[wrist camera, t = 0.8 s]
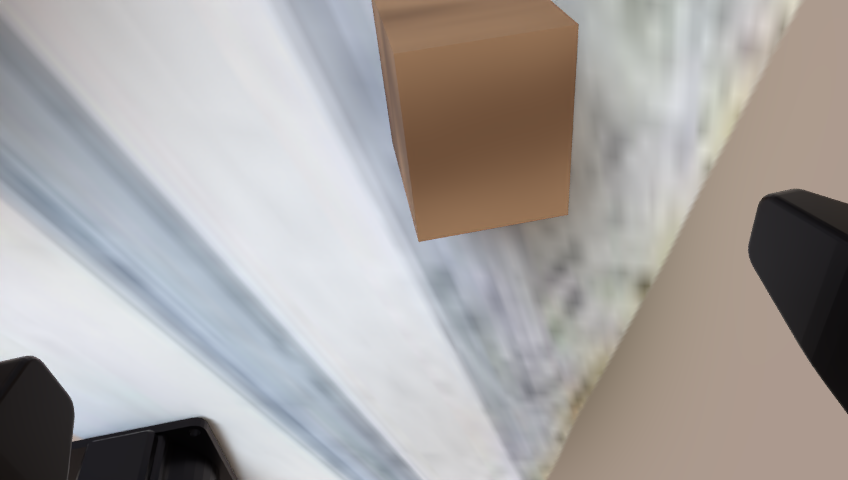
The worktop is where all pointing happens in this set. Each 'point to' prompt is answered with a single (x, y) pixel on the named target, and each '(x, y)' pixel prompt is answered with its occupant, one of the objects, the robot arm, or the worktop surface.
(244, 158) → the worktop surface
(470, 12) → the block
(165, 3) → the worktop surface
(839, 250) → the robot arm
